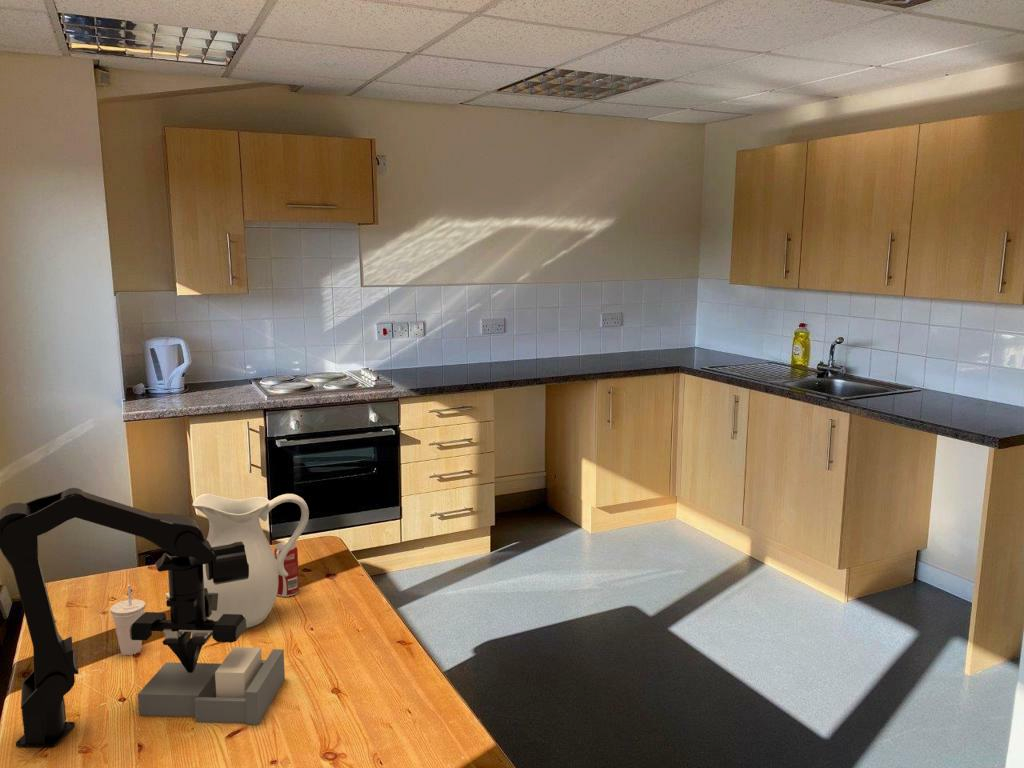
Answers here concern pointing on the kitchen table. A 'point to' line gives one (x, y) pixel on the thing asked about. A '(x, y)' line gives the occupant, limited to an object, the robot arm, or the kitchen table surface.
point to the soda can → (288, 571)
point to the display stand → (210, 693)
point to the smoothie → (127, 622)
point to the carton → (237, 672)
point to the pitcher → (247, 552)
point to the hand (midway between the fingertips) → (191, 671)
